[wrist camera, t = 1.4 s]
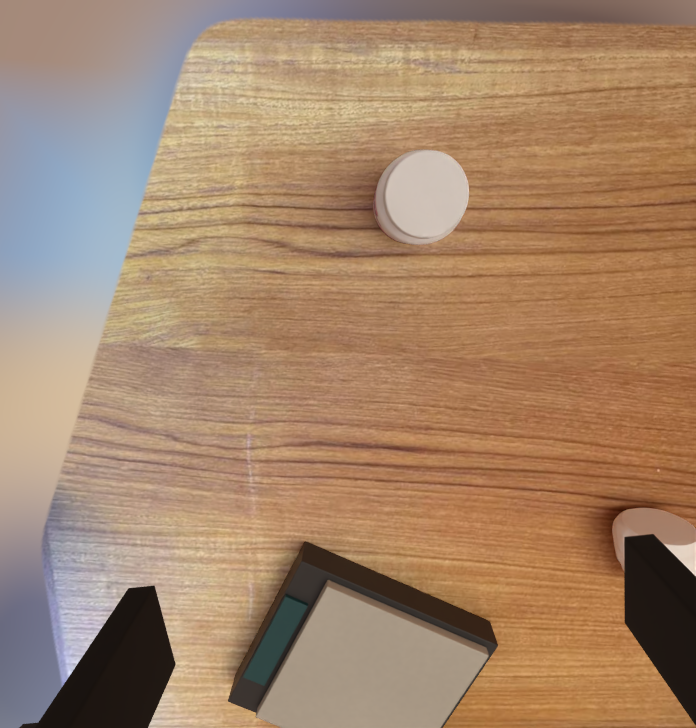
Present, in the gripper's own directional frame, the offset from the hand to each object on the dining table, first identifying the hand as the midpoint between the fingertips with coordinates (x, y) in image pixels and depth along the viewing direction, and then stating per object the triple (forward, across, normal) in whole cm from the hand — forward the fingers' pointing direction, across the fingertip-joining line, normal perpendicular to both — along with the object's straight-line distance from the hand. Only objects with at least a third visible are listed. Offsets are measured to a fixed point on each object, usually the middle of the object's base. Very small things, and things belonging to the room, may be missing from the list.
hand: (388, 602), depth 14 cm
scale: (+21, -4, -22) cm, 31 cm away
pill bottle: (+21, +4, +12) cm, 25 cm away
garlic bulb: (+21, +18, -14) cm, 31 cm away
